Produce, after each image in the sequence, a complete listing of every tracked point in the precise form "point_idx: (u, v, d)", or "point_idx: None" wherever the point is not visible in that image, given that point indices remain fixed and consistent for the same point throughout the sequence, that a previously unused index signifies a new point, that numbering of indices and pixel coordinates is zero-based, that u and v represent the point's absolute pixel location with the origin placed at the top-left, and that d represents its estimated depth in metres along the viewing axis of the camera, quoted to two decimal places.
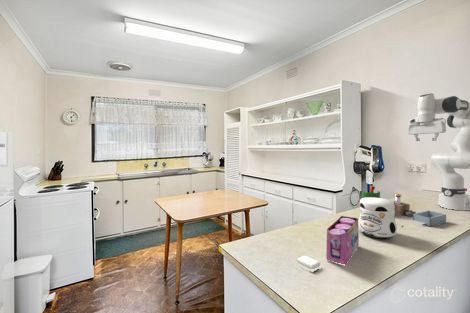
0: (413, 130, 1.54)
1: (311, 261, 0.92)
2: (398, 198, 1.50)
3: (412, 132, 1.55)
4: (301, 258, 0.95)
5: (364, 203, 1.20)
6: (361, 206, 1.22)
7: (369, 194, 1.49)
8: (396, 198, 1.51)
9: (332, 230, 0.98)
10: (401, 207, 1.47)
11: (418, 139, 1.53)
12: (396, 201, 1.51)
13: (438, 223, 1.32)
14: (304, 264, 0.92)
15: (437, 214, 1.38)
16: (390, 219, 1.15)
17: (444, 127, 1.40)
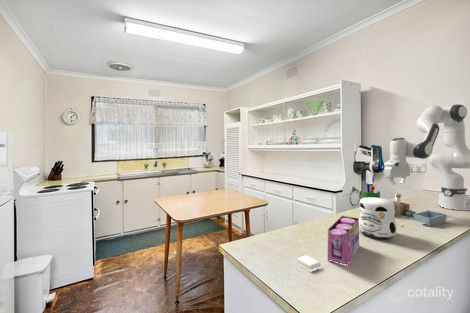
0: (393, 174, 1.47)
1: (311, 261, 0.92)
2: (398, 198, 1.50)
3: (393, 175, 1.47)
4: (302, 257, 0.95)
5: (364, 203, 1.20)
6: (361, 206, 1.22)
7: (369, 194, 1.49)
8: (396, 198, 1.51)
9: (333, 230, 0.97)
10: (401, 207, 1.47)
11: None
12: (396, 201, 1.51)
13: (438, 223, 1.32)
14: (303, 263, 0.92)
15: (437, 214, 1.38)
16: (390, 219, 1.15)
17: None
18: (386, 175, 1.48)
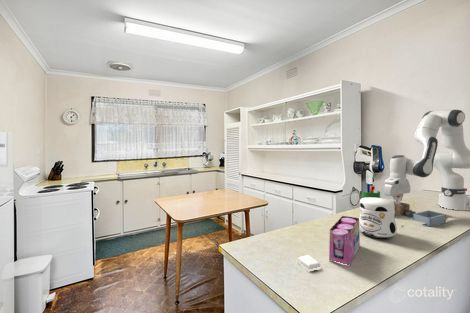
0: (394, 191, 1.47)
1: (310, 261, 0.92)
2: (398, 198, 1.50)
3: (393, 193, 1.47)
4: (302, 257, 0.96)
5: (364, 203, 1.20)
6: (361, 206, 1.22)
7: (369, 194, 1.49)
8: None
9: (335, 230, 0.97)
10: (401, 207, 1.47)
11: None
12: None
13: (438, 223, 1.32)
14: (303, 263, 0.93)
15: (437, 214, 1.38)
16: (390, 219, 1.15)
17: None
18: (386, 193, 1.48)
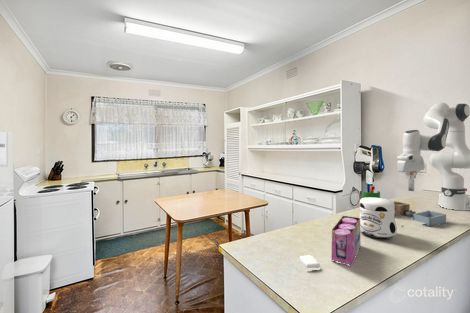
0: (407, 168, 1.40)
1: (310, 261, 0.92)
2: (412, 175, 1.42)
3: (406, 169, 1.39)
4: (304, 256, 0.96)
5: (364, 203, 1.20)
6: (361, 206, 1.22)
7: (369, 194, 1.49)
8: None
9: (337, 230, 0.97)
10: (401, 207, 1.47)
11: None
12: None
13: (438, 223, 1.32)
14: (302, 262, 0.93)
15: (437, 214, 1.38)
16: (390, 219, 1.15)
17: None
18: (399, 169, 1.40)
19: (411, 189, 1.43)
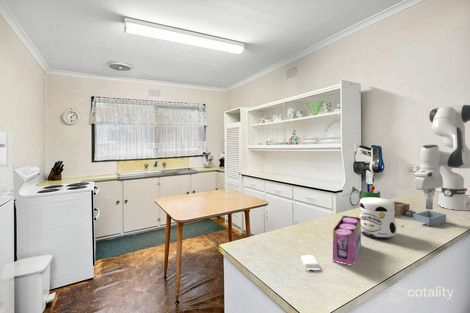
0: (426, 185, 1.31)
1: (310, 261, 0.92)
2: (430, 193, 1.34)
3: (425, 187, 1.31)
4: (305, 256, 0.97)
5: (364, 203, 1.20)
6: (361, 206, 1.22)
7: (369, 194, 1.49)
8: None
9: (338, 230, 0.97)
10: (401, 207, 1.47)
11: None
12: None
13: (438, 223, 1.32)
14: (302, 261, 0.94)
15: (437, 214, 1.38)
16: (390, 219, 1.15)
17: None
18: (417, 187, 1.32)
19: (429, 207, 1.35)
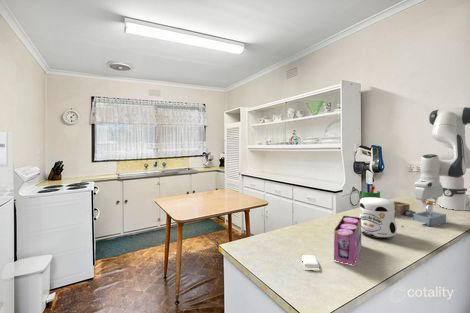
0: (426, 195, 1.32)
1: (310, 261, 0.93)
2: (430, 205, 1.35)
3: (425, 197, 1.31)
4: (306, 256, 0.97)
5: (364, 203, 1.20)
6: (361, 206, 1.22)
7: (369, 194, 1.49)
8: None
9: (339, 230, 0.97)
10: (401, 207, 1.47)
11: None
12: (427, 209, 1.35)
13: (438, 223, 1.32)
14: (303, 261, 0.94)
15: (437, 214, 1.38)
16: (390, 219, 1.15)
17: None
18: (417, 197, 1.32)
19: None
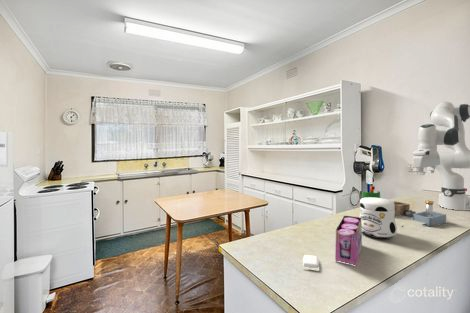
0: (424, 163, 1.37)
1: (309, 261, 0.93)
2: (430, 205, 1.35)
3: (423, 165, 1.36)
4: (307, 256, 0.97)
5: (364, 203, 1.20)
6: (361, 206, 1.22)
7: (369, 194, 1.49)
8: (428, 205, 1.35)
9: (340, 230, 0.97)
10: (401, 207, 1.47)
11: None
12: (428, 209, 1.35)
13: (438, 223, 1.32)
14: (303, 260, 0.95)
15: (437, 214, 1.38)
16: (390, 219, 1.15)
17: None
18: (416, 165, 1.37)
19: None
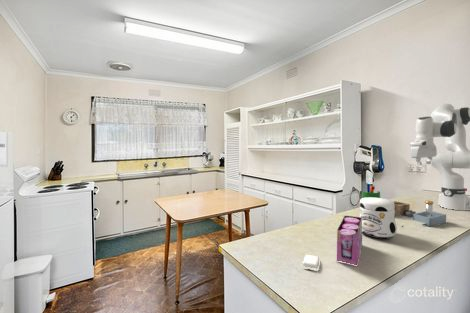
0: (420, 153, 1.42)
1: (309, 260, 0.93)
2: (430, 205, 1.35)
3: (420, 155, 1.42)
4: (309, 255, 0.97)
5: (364, 203, 1.20)
6: (361, 206, 1.22)
7: (369, 194, 1.49)
8: (427, 205, 1.35)
9: (342, 230, 0.97)
10: (401, 207, 1.47)
11: None
12: (427, 209, 1.35)
13: (438, 223, 1.32)
14: None
15: (437, 214, 1.38)
16: (390, 219, 1.15)
17: None
18: (413, 155, 1.43)
19: None
